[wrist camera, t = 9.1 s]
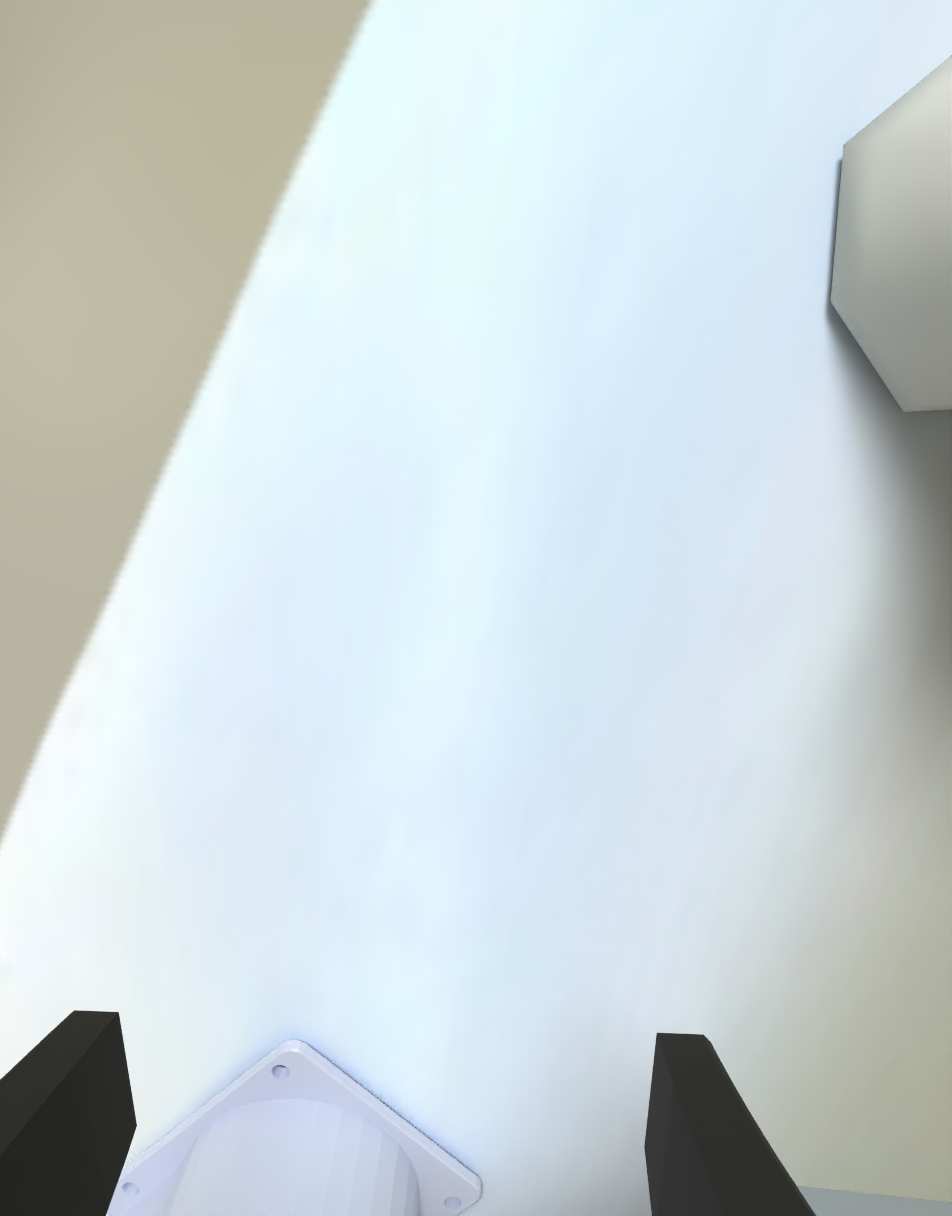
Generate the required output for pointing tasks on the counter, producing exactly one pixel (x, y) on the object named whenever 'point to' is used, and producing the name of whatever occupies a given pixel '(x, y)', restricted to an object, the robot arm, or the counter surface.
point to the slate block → (870, 1204)
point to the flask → (901, 244)
